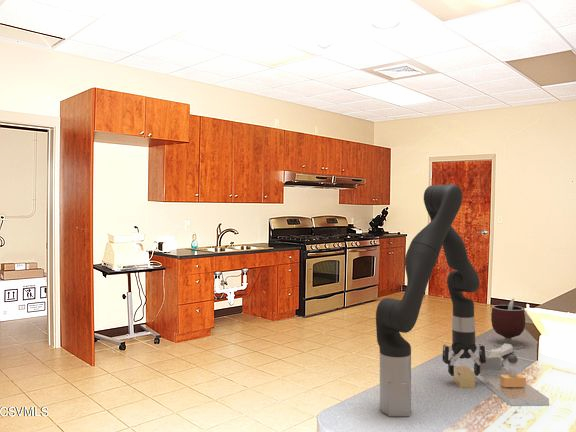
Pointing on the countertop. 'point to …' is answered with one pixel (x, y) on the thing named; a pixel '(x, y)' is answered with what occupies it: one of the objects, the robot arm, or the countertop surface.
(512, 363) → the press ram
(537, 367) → the countertop surface
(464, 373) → the block
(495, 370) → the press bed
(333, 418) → the countertop surface
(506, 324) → the mate gourd
